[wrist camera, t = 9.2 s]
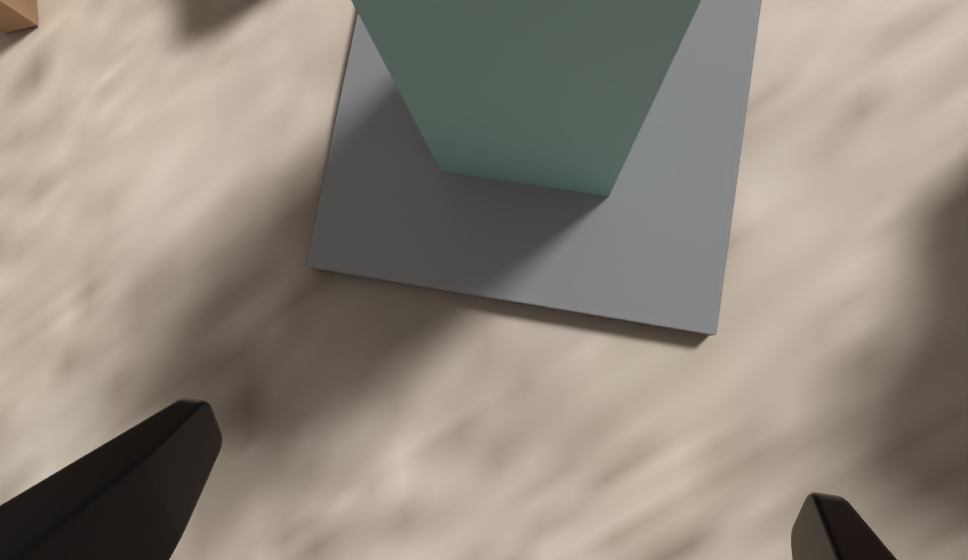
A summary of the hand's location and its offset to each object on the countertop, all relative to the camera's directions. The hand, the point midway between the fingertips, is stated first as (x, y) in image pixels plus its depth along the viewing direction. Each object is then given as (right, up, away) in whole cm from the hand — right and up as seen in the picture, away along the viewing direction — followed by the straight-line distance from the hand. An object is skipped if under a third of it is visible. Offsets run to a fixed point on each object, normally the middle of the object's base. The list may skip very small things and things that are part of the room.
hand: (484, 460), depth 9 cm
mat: (+2, +8, +10) cm, 13 cm away
